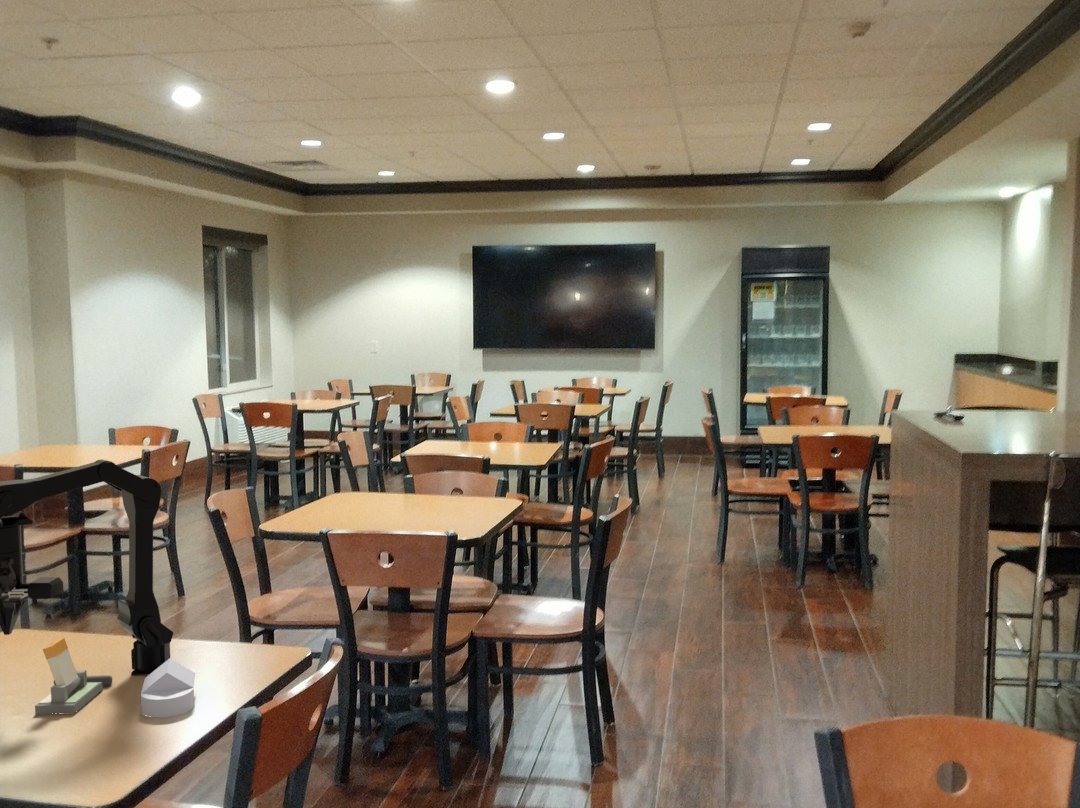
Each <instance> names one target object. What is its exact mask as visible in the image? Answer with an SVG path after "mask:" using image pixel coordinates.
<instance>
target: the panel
mask: <svg viewBox="0 0 1080 808" xmlns="http://www.w3.org/2000/svg"><path fill="white" fill-rule="evenodd" d="M76 672H77V675H78V676H79V677H80V678H81V684H80V685H79V686H78V687H76V688H75V689H74V690H73V691H71V692H70V693H69V694H68V693H67V685H54V684H53V685H52V686H51V687H50V693H49V694H48V695H46V697H44V698H43V699H42V700H40V701H39V702H38V703H36V704H35V705H34V711H35V712H34V713H35V714H39V715H60V714H59V713H75V712H76V711H77V712H79V711H80V710H81V709H82V708H83V707H85V706H86V705H87V704H88V703H89V702H91V701H92V700H93V699H94V698H95V697H97V696H98V695H99V694H100V693H101V692H102V691H103V690H104V689H103V687H104V686H102V682H87V676H88V674H87V673H88V672H87V670H86V669H85V670H76ZM100 691H101V692H100ZM99 692H100V693H99ZM98 693H99V694H98ZM93 697H94V698H93ZM92 698H93V699H92ZM91 699H92V700H91ZM88 701H89V702H88ZM87 702H88V703H87ZM86 703H87V704H86ZM85 704H86V705H85ZM81 707H82V708H81ZM80 708H81V709H80ZM79 709H80V710H79ZM78 710H79V711H78ZM77 712H76V713H77ZM52 713H53V714H52ZM55 713H57V714H55ZM76 713H75V714H76Z"/></svg>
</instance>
